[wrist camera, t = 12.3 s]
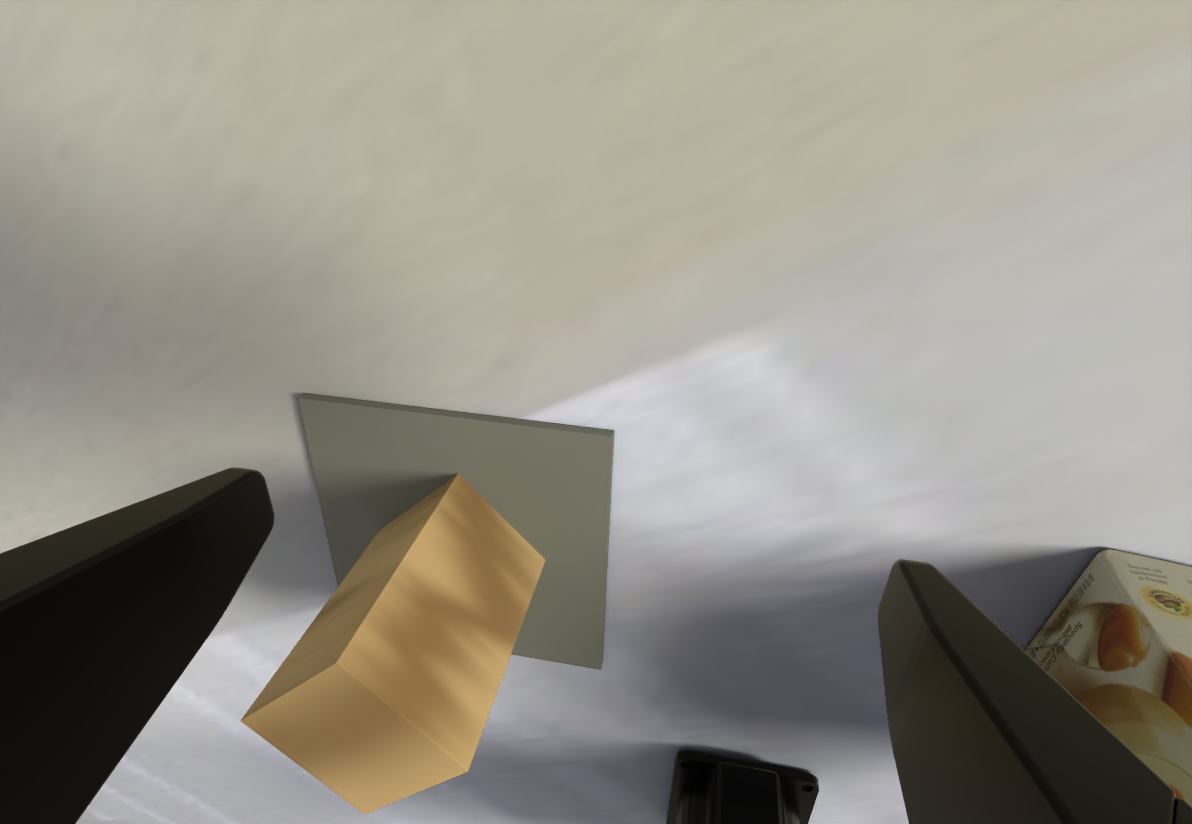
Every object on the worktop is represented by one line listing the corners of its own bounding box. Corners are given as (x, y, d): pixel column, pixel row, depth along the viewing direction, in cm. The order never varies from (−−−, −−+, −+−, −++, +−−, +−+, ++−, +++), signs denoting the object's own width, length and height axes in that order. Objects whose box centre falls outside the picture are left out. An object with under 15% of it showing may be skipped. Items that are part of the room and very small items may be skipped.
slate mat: (602, 662, 29) (600, 669, 29) (351, 619, 31) (346, 625, 31) (614, 430, 24) (612, 436, 23) (303, 393, 25) (297, 398, 25)
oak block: (545, 559, 27) (467, 771, 19) (464, 607, 29) (364, 814, 21) (458, 473, 25) (335, 662, 18) (379, 530, 27) (240, 720, 20)
